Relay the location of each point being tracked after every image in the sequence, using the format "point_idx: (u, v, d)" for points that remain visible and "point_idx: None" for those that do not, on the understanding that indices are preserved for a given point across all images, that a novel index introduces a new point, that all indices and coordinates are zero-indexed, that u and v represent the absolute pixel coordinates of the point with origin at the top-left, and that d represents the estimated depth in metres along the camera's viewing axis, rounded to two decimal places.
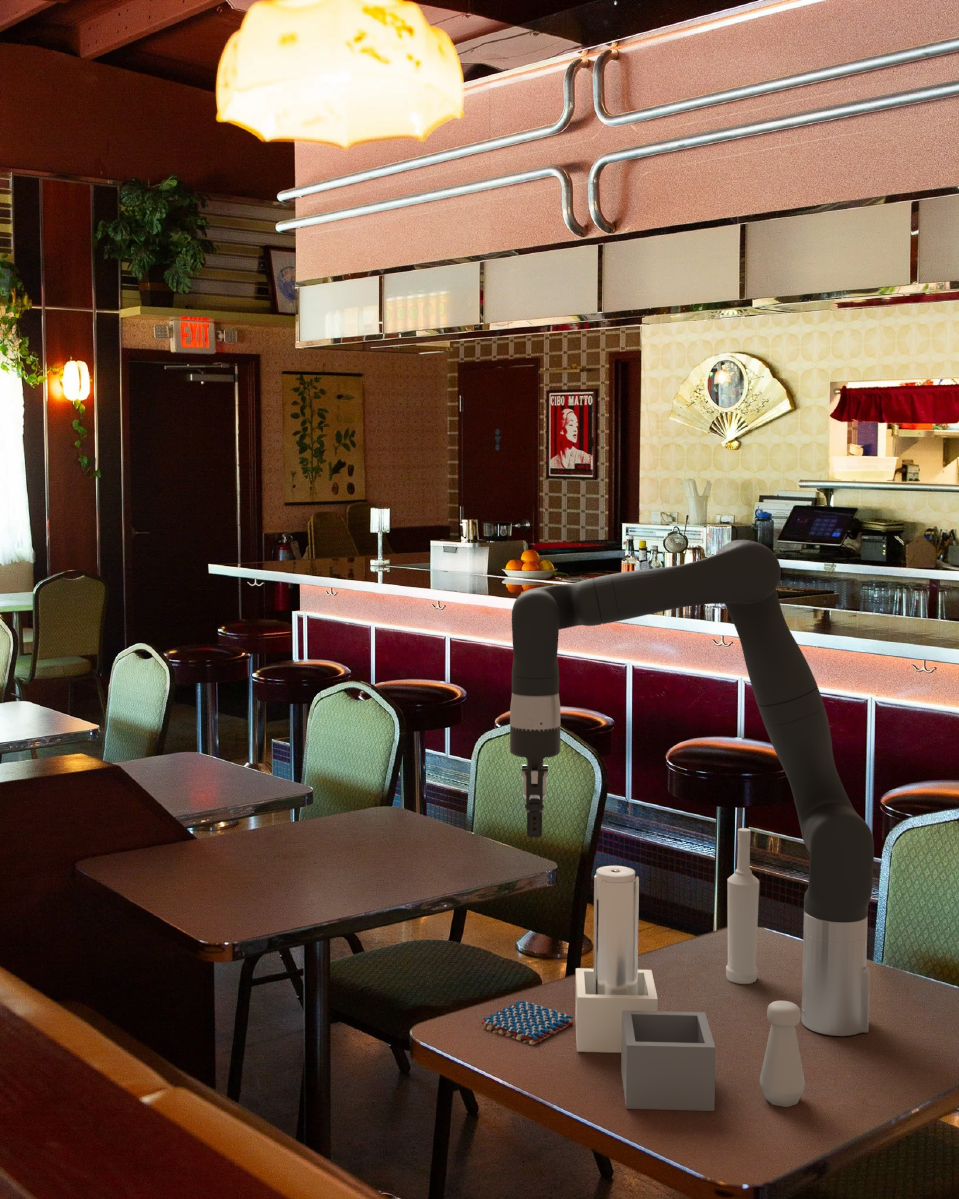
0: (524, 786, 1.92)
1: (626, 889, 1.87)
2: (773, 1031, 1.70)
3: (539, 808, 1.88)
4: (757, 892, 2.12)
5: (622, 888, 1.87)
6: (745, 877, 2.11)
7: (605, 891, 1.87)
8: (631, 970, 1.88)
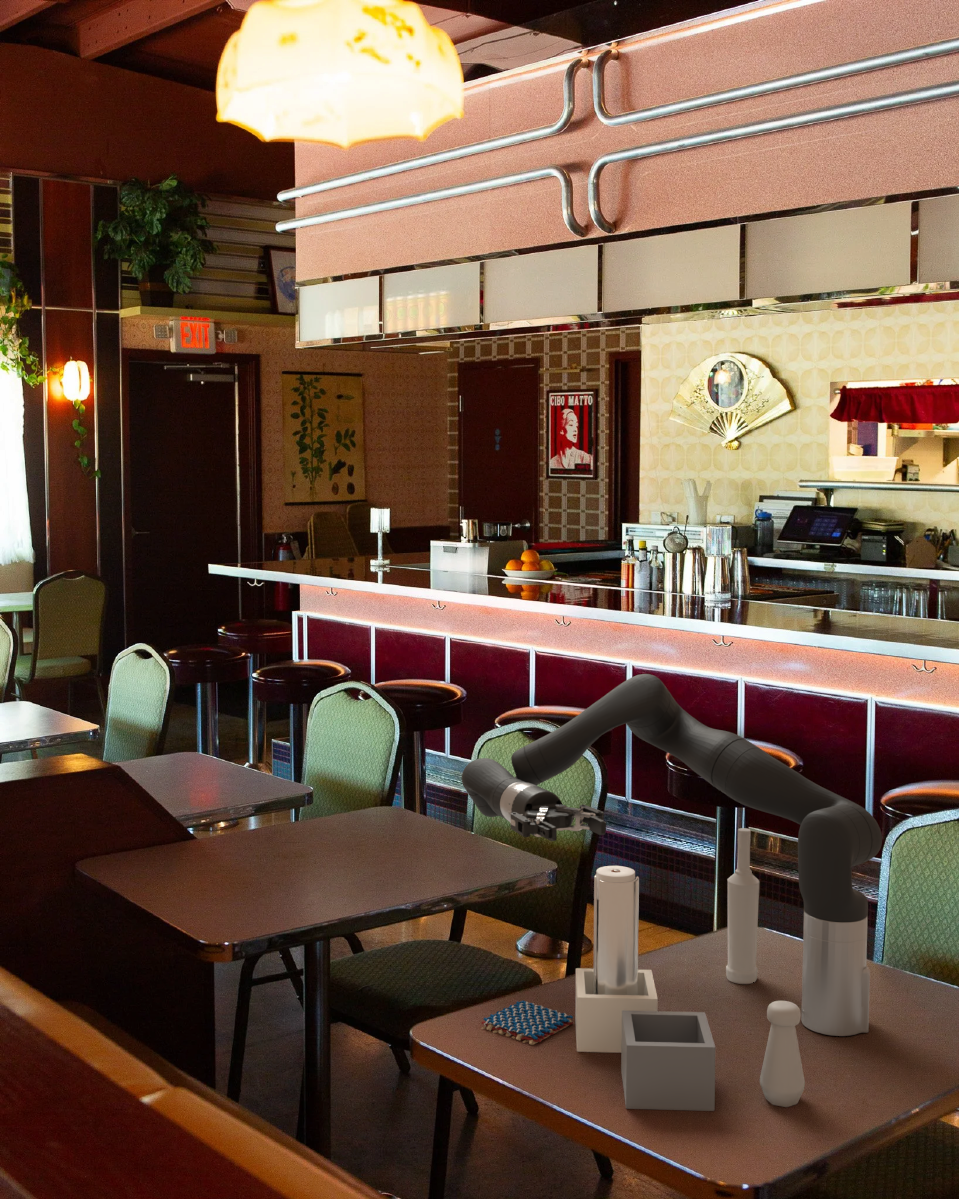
0: None
1: (626, 889, 1.87)
2: (773, 1031, 1.70)
3: (523, 824, 2.01)
4: (757, 892, 2.12)
5: (622, 888, 1.87)
6: (745, 877, 2.11)
7: (605, 891, 1.87)
8: (631, 970, 1.88)
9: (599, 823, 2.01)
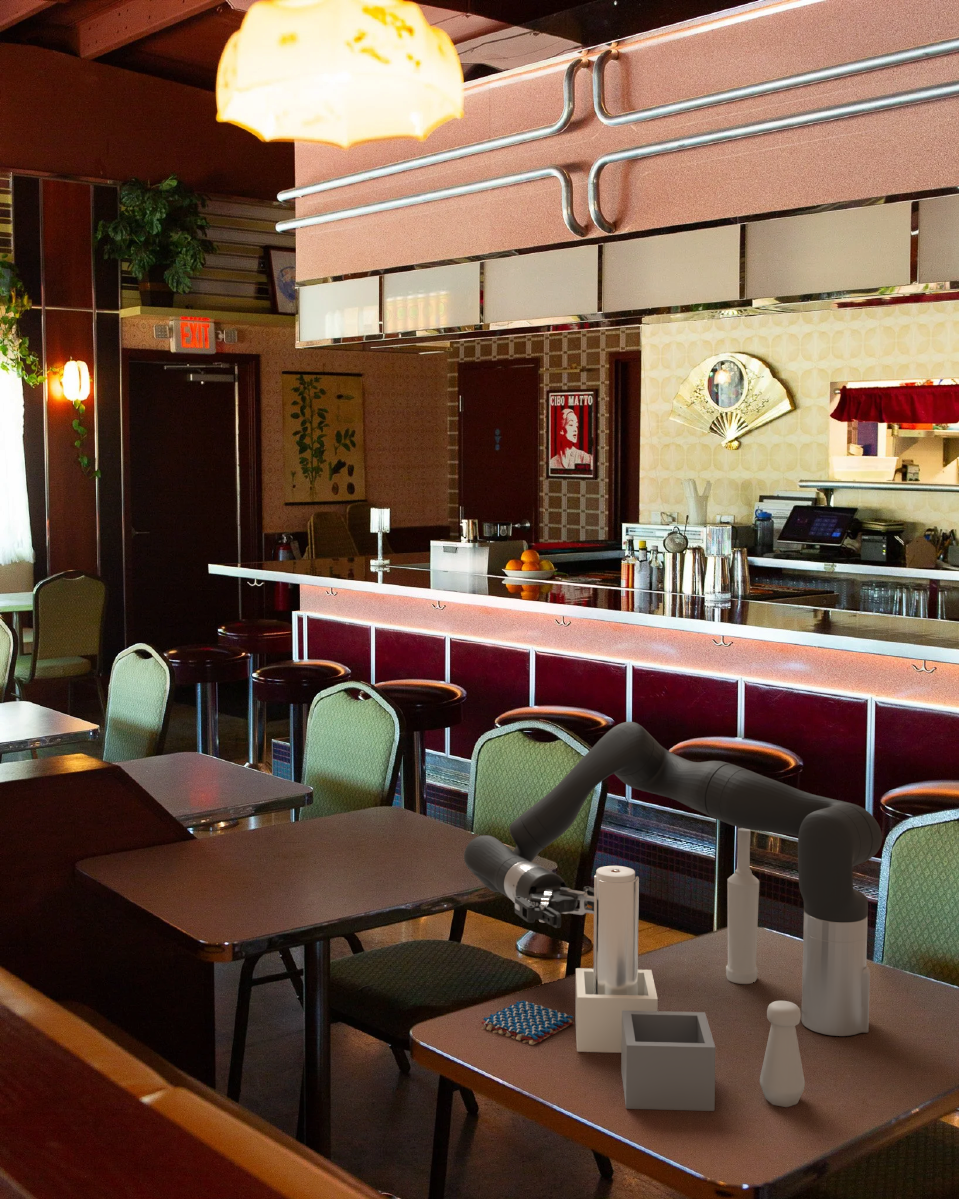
0: None
1: (626, 889, 1.87)
2: (773, 1031, 1.70)
3: (528, 910, 2.00)
4: (757, 892, 2.12)
5: (622, 888, 1.87)
6: (745, 877, 2.11)
7: (604, 891, 1.87)
8: (631, 970, 1.88)
9: None
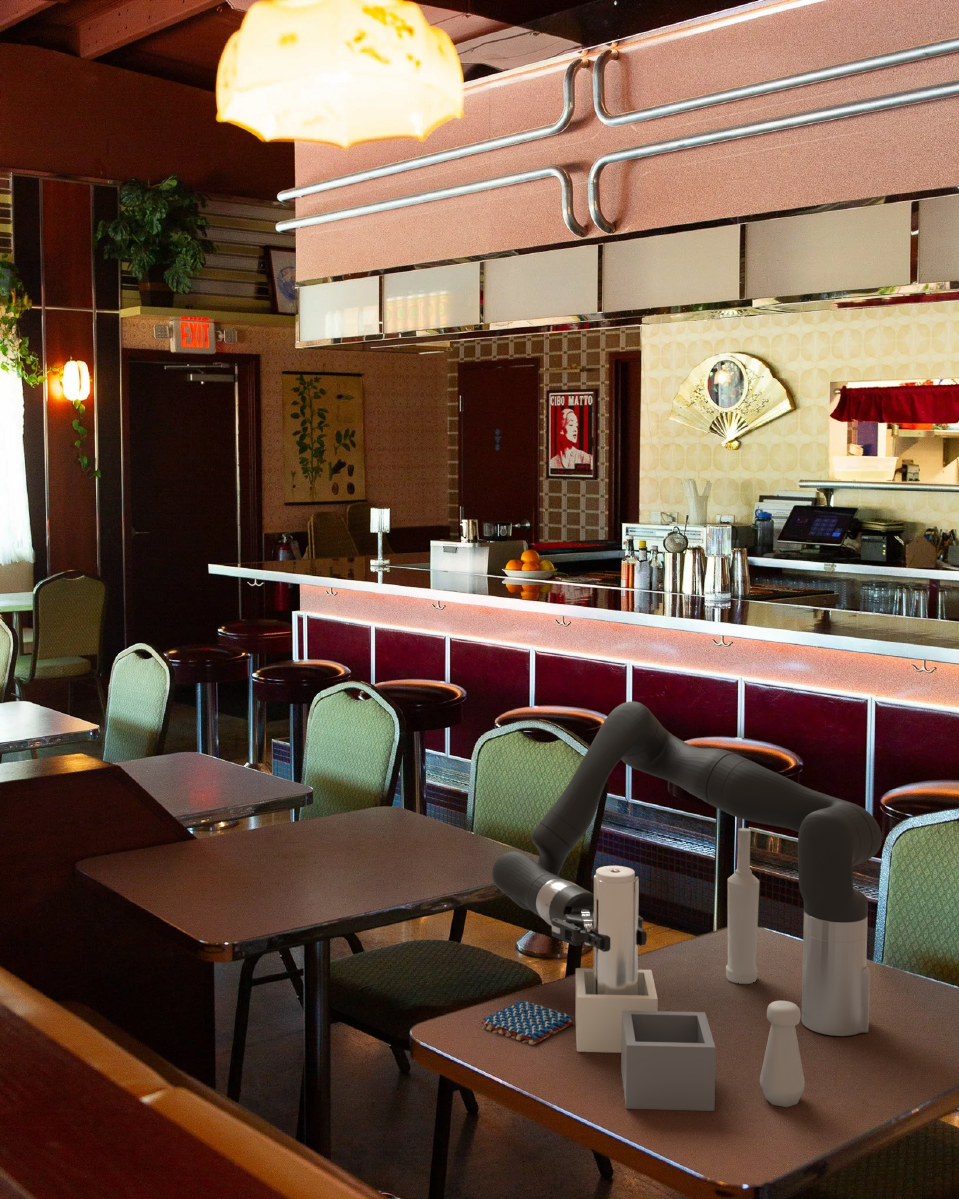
0: None
1: (626, 889, 1.87)
2: (773, 1031, 1.70)
3: (573, 932, 1.90)
4: (757, 892, 2.12)
5: (622, 888, 1.86)
6: (745, 877, 2.11)
7: (604, 891, 1.87)
8: (631, 970, 1.88)
9: (639, 933, 1.90)
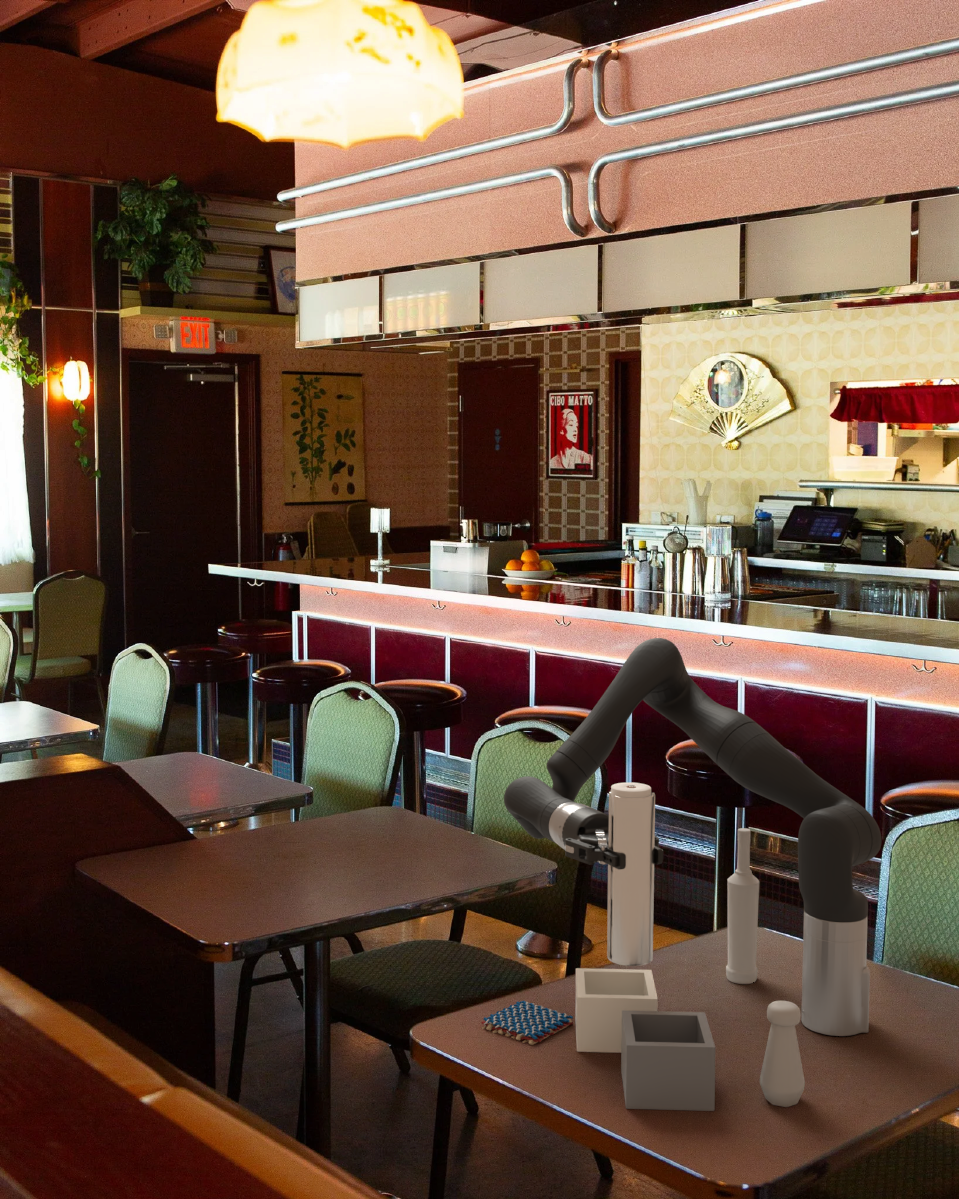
0: None
1: (642, 804, 1.80)
2: (773, 1031, 1.70)
3: (587, 850, 1.84)
4: (757, 892, 2.12)
5: (638, 803, 1.80)
6: (745, 877, 2.11)
7: (620, 807, 1.81)
8: (647, 888, 1.82)
9: (656, 851, 1.83)
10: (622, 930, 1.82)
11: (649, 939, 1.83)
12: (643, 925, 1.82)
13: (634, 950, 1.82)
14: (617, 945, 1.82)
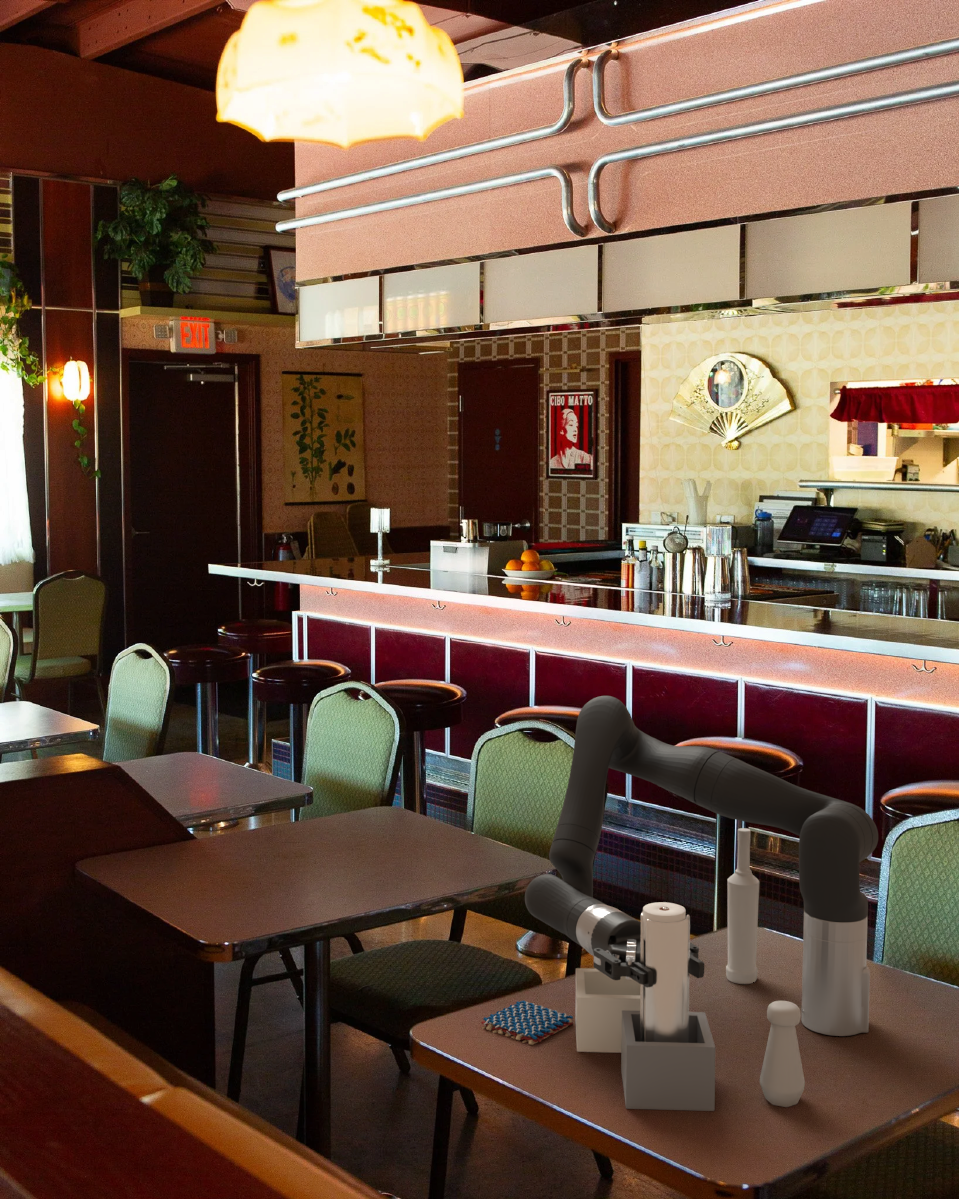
0: None
1: (676, 929, 1.69)
2: (773, 1031, 1.70)
3: (613, 965, 1.73)
4: (757, 892, 2.12)
5: (672, 928, 1.69)
6: (745, 877, 2.11)
7: (652, 931, 1.70)
8: (682, 1018, 1.71)
9: (696, 964, 1.73)
10: None
11: None
12: None
13: None
14: None
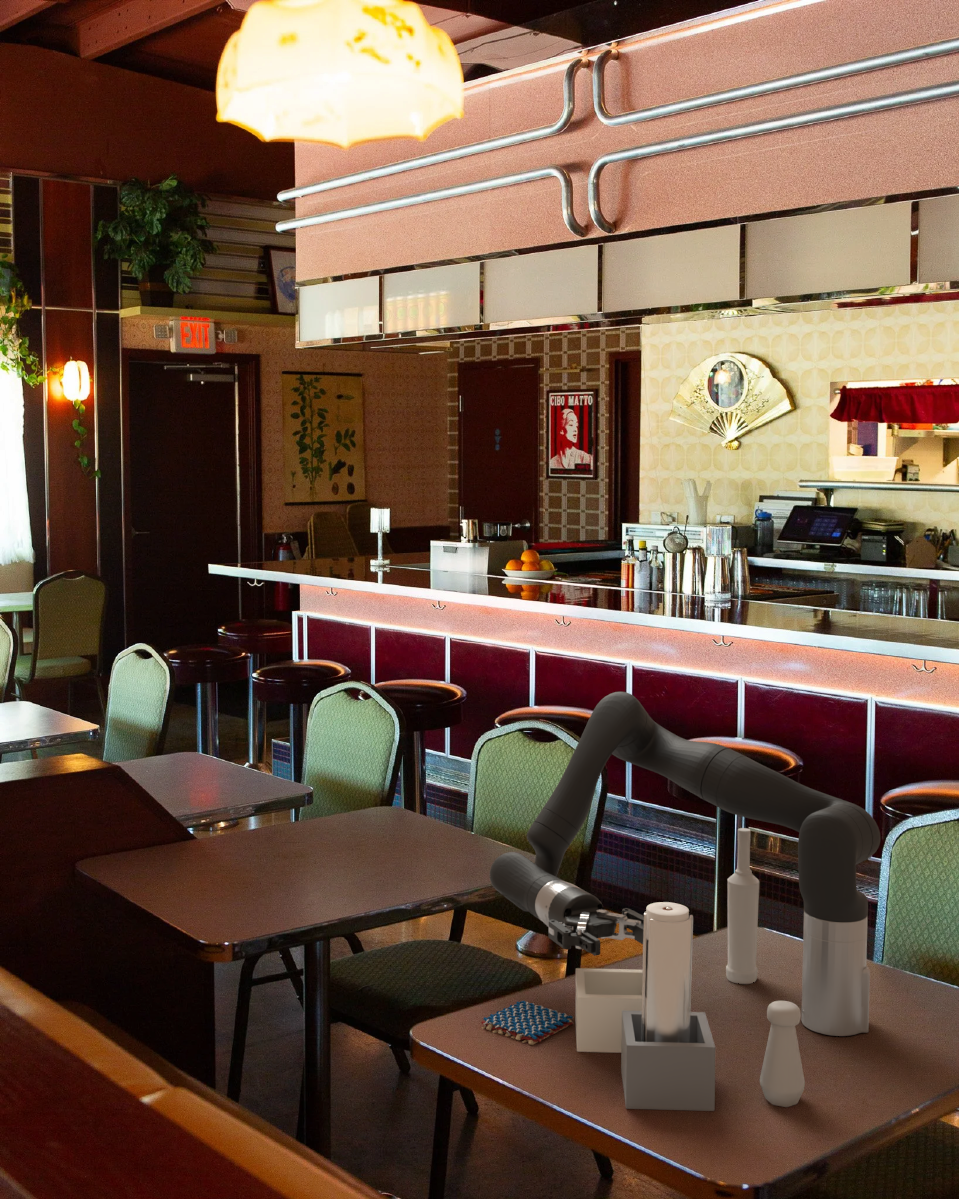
0: None
1: (679, 929, 1.69)
2: (773, 1031, 1.70)
3: (563, 935, 1.84)
4: (757, 892, 2.12)
5: (675, 928, 1.69)
6: (745, 877, 2.11)
7: (655, 931, 1.70)
8: (683, 1018, 1.71)
9: None
10: None
11: None
12: None
13: None
14: None
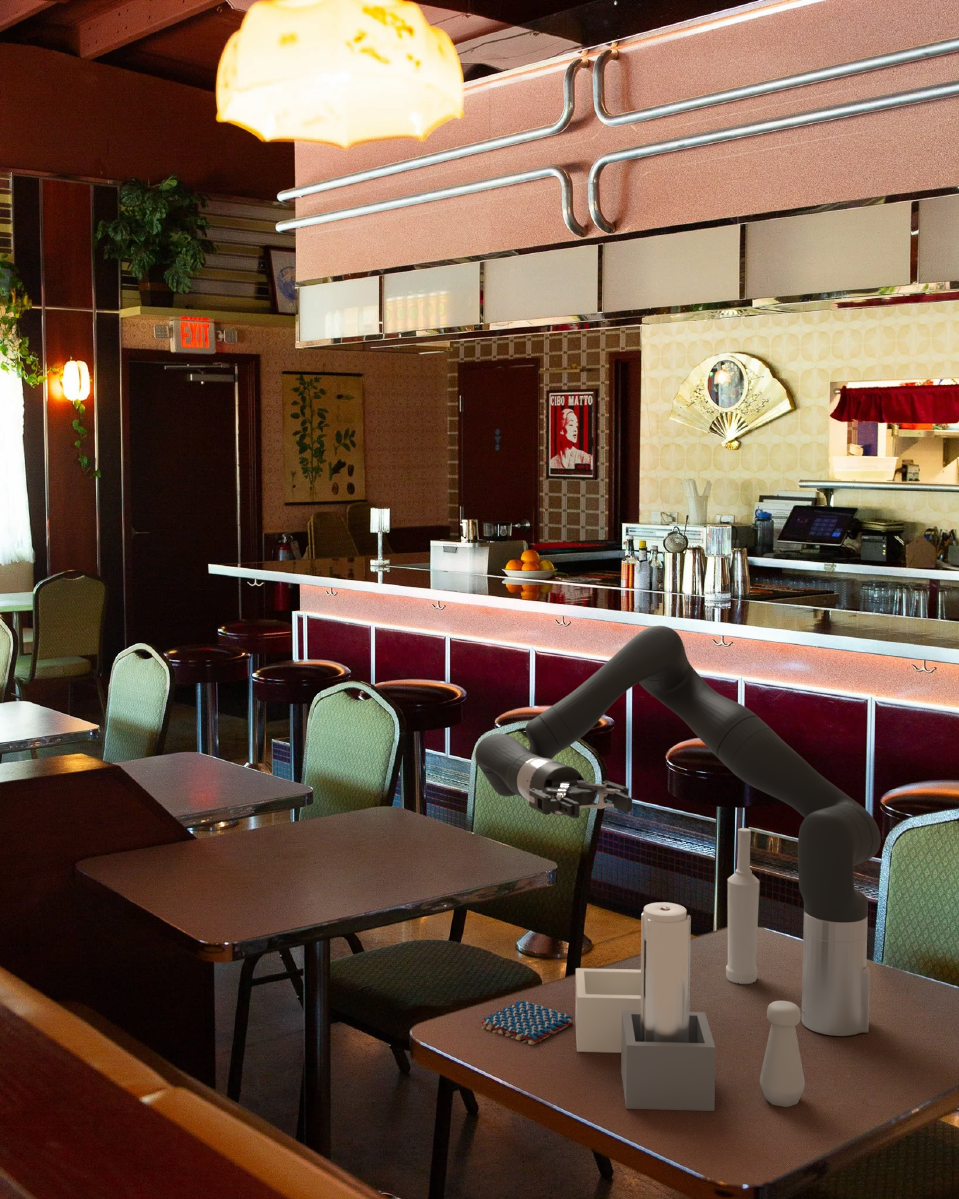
0: None
1: (677, 930, 1.69)
2: (773, 1031, 1.70)
3: (543, 800, 1.87)
4: (757, 892, 2.12)
5: (672, 929, 1.69)
6: (745, 877, 2.11)
7: (653, 932, 1.70)
8: (682, 1018, 1.71)
9: (625, 799, 1.87)
10: None
11: None
12: None
13: None
14: None
